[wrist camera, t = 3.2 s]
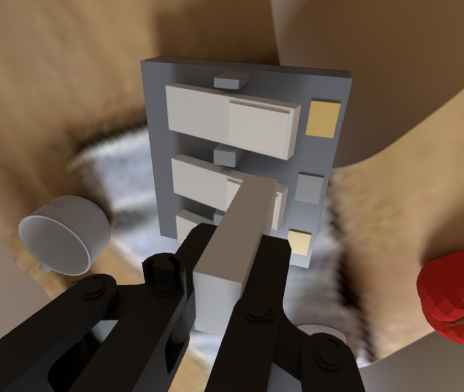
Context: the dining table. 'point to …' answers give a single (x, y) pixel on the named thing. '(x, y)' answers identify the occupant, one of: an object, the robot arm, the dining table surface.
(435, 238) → the dining table surface
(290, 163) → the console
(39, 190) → the dining table surface
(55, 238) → the teacup
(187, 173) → the rocker
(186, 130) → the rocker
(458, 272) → the tomato
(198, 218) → the rocker
